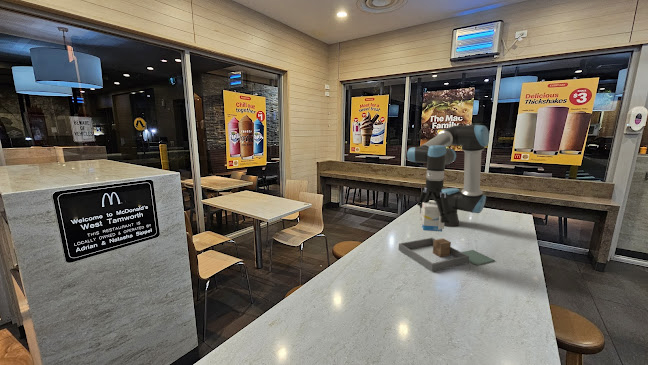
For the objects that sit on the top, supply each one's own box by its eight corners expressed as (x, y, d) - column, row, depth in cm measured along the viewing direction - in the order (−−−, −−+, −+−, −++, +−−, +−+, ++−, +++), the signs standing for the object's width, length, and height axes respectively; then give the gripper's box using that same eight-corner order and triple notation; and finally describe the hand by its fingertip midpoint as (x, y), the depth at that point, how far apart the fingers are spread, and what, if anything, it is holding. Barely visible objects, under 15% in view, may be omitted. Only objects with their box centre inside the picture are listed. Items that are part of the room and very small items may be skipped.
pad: (455, 254, 134) (455, 253, 134) (472, 250, 138) (472, 249, 138) (476, 265, 123) (476, 264, 123) (494, 261, 127) (494, 260, 127)
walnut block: (432, 253, 136) (433, 240, 135) (441, 251, 138) (443, 238, 137) (440, 257, 131) (441, 244, 130) (449, 255, 134) (450, 242, 132)
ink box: (442, 232, 123) (444, 207, 121) (423, 230, 125) (424, 206, 123) (438, 225, 132) (440, 202, 129) (420, 224, 133) (422, 201, 131)
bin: (398, 249, 139) (398, 243, 139) (431, 243, 147) (431, 237, 147) (431, 271, 118) (432, 264, 117) (468, 263, 126) (469, 256, 125)
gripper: (411, 175, 133) (408, 218, 138) (448, 184, 112) (444, 234, 116) (423, 174, 136) (420, 216, 140) (462, 183, 114) (457, 232, 119)
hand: (431, 224), depth 128 cm, fingers closed on ink box, 11 cm apart
